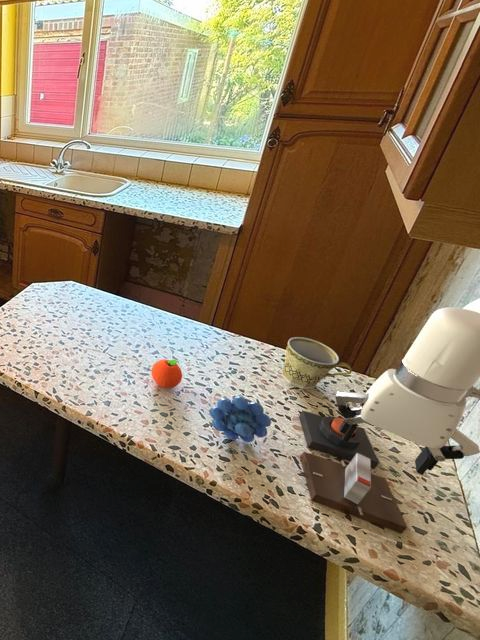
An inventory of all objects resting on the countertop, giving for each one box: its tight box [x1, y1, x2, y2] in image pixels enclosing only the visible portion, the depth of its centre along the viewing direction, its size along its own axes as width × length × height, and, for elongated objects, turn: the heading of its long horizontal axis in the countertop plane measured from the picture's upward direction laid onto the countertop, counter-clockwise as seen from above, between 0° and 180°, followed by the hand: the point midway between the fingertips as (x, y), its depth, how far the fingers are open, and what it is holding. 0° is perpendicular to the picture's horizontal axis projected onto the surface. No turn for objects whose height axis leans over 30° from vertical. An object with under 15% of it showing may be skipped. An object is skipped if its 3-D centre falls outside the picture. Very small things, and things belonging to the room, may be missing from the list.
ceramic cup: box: [281, 336, 353, 390], centre depth 99 cm, size 13×10×10 cm
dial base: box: [299, 451, 408, 534], centre depth 76 cm, size 13×12×2 cm
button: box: [331, 417, 356, 437], centre depth 85 cm, size 4×4×2 cm
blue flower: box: [208, 395, 272, 443], centre depth 84 cm, size 12×7×12 cm, turn 74°
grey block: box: [344, 453, 372, 504], centre depth 75 cm, size 8×2×5 cm, turn 138°
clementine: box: [151, 358, 183, 389], centre depth 100 cm, size 8×7×7 cm
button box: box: [298, 410, 380, 470], centre depth 86 cm, size 11×9×4 cm
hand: (380, 451), depth 71 cm, fingers open, 9 cm apart
